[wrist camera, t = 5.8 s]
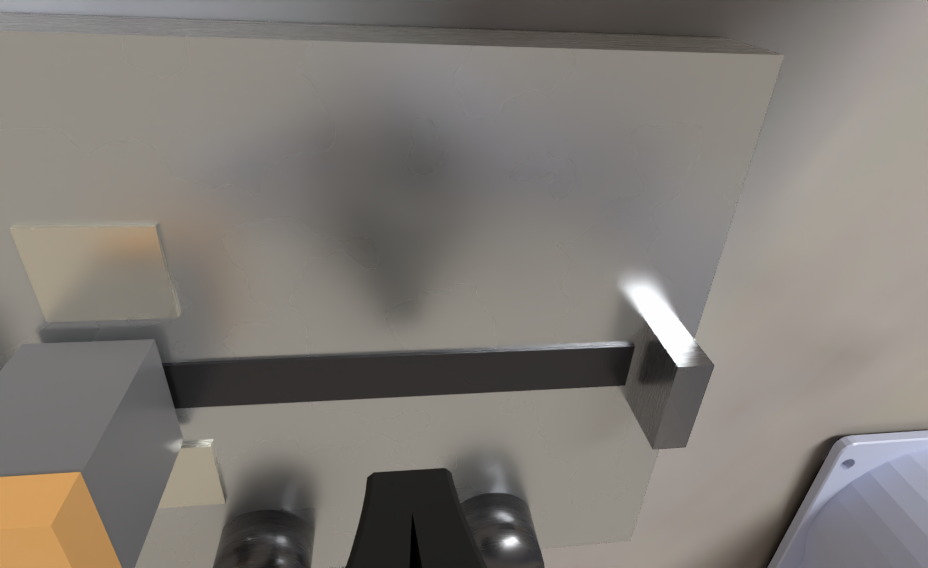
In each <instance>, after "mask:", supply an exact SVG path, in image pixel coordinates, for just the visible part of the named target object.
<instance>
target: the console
mask: <svg viewBox="0 0 928 568" xmlns="http://www.w3.org/2000/svg"><path fill="white" fill-rule="evenodd" d="M783 58H784V55H782V54H779V53H775V52H772V51H769V50H765V49H762V48H759V47H756V46H752V45H749V44H746V43H742V42H739V41H736V40H732V39H729V38H716V37H688V36H659V35H630V34H601V33H573V32H544V31H515V30H486V29H458V28H429V27H400V26H372V25H343V24H314V23H285V22H257V21H228V20H199V19H170V18H142V17H113V16H84V15H55V14H27V13H0V370H1V369H2V368H3V367H4V365H5V364H6V363H7V362H8V361H9V360H10V358H11V357H12V356H13V355H14V354H15V353H16V352H17V350H18V349H19V348H20V347H21V346H22V345H23V344H36V343H64V342H92V341H120V340H148V339H155V341H156V345H157V348H158V352H159V355H160V359H161V362H162V366H163V369H164V373H165V376H166V380H167V383H168V387H169V390H170V394H171V397H172V401H173V404H174V408H175V411H176V415H177V418H178V422H179V425H180V429H181V432H182V436H183V439H184V440H183V443H182V445H181V448H180V451H179V453H178V456H177V458H176V461H175V464H174V466H173V469H172V471H171V474H170V477H169V479H168V482H167V485H166V487H165V490H164V492H163V495H162V498H161V500H160V503H159V506H158V508H157V511H156V513H155V516H154V519H153V521H152V524H151V527H150V529H149V532H148V534H147V537H146V540H145V542H144V545H143V547H142V550H141V553H140V555H139V558H138V561H137V563H136V566H135V568H331V567H342V566H346V564H347V562H348V559H349V556H350V552H351V549H352V545H353V542H354V538H355V535H356V531H357V528H358V524H359V520H360V516H361V511H362V507H363V502H364V497H365V491H366V482H367V477H368V476H370V475H371V474H372V473H373V472H387V471H403V470H419V469H435V468H446V469H447V470H449V471H450V472H451V473H452V477H453V481H454V485H455V488H456V491H457V494H458V498H459V501H460V503H461V506H462V509H463V512H464V514H465V517H466V520H467V522H468V525H469V527H470V530H471V532H472V534H473V537H474V539H475V542H476V544H477V546H478V549H479V551H480V553H481V555H482V558H483V560H484V562H485V564H486V566H487V568H544V562H543V558H542V554H541V550H540V549H544V548H555V547H566V546H577V545H589V544H600V543H611V542H622V541H630V540H631V537H632V534H633V531H634V527H635V524H636V521H637V518H638V515H639V512H640V509H641V505H642V502H643V499H644V496H645V493H646V490H647V486H648V483H649V480H650V477H651V474H652V471H653V468H654V464H655V461H656V458H657V455H658V452H659V449H668V448H683V447H686V445H687V442H688V439H689V436H690V434H691V431H692V428H693V425H694V422H695V419H696V416H697V414H698V411H699V408H700V405H701V402H702V399H703V396H704V394H705V391H706V388H707V385H708V382H709V379H710V376H711V374H712V371H713V368H714V364H713V363H712V362H711V360H710V359H709V358H708V357H707V355H706V354H705V353H704V351H703V350H702V349H701V348H700V346H699V345H698V344H697V342H696V341H695V340H694V338H695V335H696V332H697V329H698V326H699V323H700V320H701V316H702V313H703V310H704V307H705V304H706V301H707V298H708V294H709V291H710V288H711V285H712V282H713V279H714V275H715V272H716V269H717V266H718V263H719V260H720V257H721V253H722V250H723V247H724V244H725V241H726V238H727V235H728V231H729V228H730V225H731V222H732V219H733V216H734V212H735V209H736V206H737V203H738V200H739V197H740V194H741V190H742V187H743V184H744V181H745V178H746V175H747V172H748V168H749V165H750V162H751V159H752V156H753V153H754V149H755V146H756V143H757V140H758V137H759V134H760V131H761V127H762V124H763V121H764V118H765V115H766V112H767V109H768V105H769V102H770V99H771V96H772V93H773V90H774V87H775V83H776V80H777V77H778V74H779V71H780V68H781V64H782V61H783Z"/></svg>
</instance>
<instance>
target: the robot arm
mask: <svg viewBox="0 0 928 568" xmlns="http://www.w3.org/2000/svg"><path fill="white" fill-rule="evenodd" d="M345 568H487V566H486V564H485V562H484V560H483V558H482V555H481V553H480V551H479V549H478V546H477V544H476V542H475V539H474V537H473V534H472V532H471V530H470V527H469V525H468V522H467V520H466V517H465V514H464V512H463V509H462V506H461V503H460V501H459V498H458V494H457V491H456V488H455V485H454V481H453V477H452V473H451V472H450V471H449V470H447V469H446V468H435V469H419V470H403V471H387V472H373V473H372V474H371V475H370V476H368V477H367V482H366V491H365V497H364V502H363V507H362V511H361V516H360V520H359V524H358V528H357V531H356V535H355V538H354V542H353V545H352V549H351V552H350V556H349V559H348V562H347V564H346V567H345ZM768 568H928V430H925V431H910V432H895V433H880V434H865V435H850V436H845V437H843V438H841V439H839V440H838V441H837V442H835V444H834V445H833V446H832V448H831V450H830V452H829V454H828V456H827V458H826V459H825V461H824V463H823V465H822V467H821V469H820V471H819V473H818V474H817V476H816V478H815V480H814V482H813V484H812V486H811V487H810V489H809V491H808V493H807V495H806V497H805V499H804V500H803V502H802V504H801V506H800V508H799V510H798V512H797V514H796V515H795V517H794V519H793V521H792V523H791V525H790V527H789V528H788V530H787V532H786V534H785V536H784V538H783V540H782V541H781V543H780V545H779V547H778V549H777V551H776V553H775V555H774V556H773V558H772V560H771V562H770V564H769V566H768Z"/></svg>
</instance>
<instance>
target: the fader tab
mask: <svg viewBox="0 0 928 568" xmlns="http://www.w3.org/2000/svg"><path fill="white" fill-rule="evenodd" d="M183 440H184V439H183V436H182V432H181V429H180V425H179V422H178V418H177V415H176V411H175V408H174V404H173V401H172V397H171V394H170V390H169V387H168V383H167V380H166V376H165V373H164V369H163V366H162V362H161V359H160V355H159V352H158V348H157V345H156V341H155V339H148V340H120V341H92V342H64V343H36V344H23V345H22V346H21V347H20V348H19V349H18V350H17V352H16V353H15V354H14V355H13V356H12V357H11V358H10V360H9V361H8V362H7V363H6V364H5V365H4V367H3V368H2V369H1V370H0V568H135V566H136V563H137V561H138V558H139V555H140V553H141V550H142V547H143V545H144V542H145V540H146V537H147V534H148V532H149V529H150V527H151V524H152V521H153V519H154V516H155V513H156V511H157V508H158V506H159V503H160V500H161V498H162V495H163V492H164V490H165V487H166V485H167V482H168V479H169V477H170V474H171V471H172V469H173V466H174V464H175V461H176V458H177V456H178V453H179V451H180V448H181V445H182V443H183Z"/></svg>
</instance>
